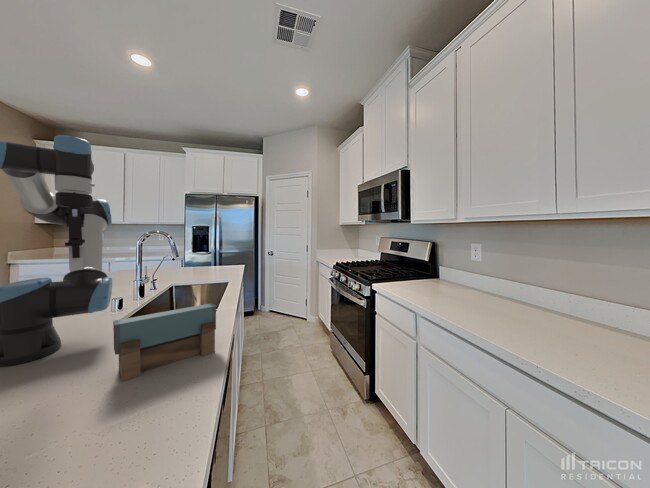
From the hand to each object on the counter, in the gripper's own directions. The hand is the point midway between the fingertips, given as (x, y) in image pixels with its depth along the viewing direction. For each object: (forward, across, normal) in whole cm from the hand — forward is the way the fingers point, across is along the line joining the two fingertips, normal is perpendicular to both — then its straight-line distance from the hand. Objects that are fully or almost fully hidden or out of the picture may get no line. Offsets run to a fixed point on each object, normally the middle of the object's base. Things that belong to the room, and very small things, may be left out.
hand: (76, 266), depth 73 cm
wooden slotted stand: (+29, -16, -20) cm, 38 cm away
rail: (+22, -16, -20) cm, 34 cm away
